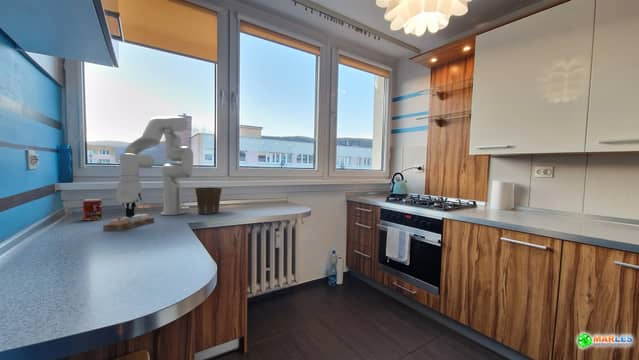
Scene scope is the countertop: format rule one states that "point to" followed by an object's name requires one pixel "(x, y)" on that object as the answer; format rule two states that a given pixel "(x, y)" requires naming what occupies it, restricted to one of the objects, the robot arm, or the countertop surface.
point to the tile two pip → (132, 218)
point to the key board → (127, 225)
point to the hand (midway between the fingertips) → (130, 216)
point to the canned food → (92, 208)
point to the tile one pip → (142, 216)
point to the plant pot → (208, 200)
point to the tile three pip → (118, 221)
